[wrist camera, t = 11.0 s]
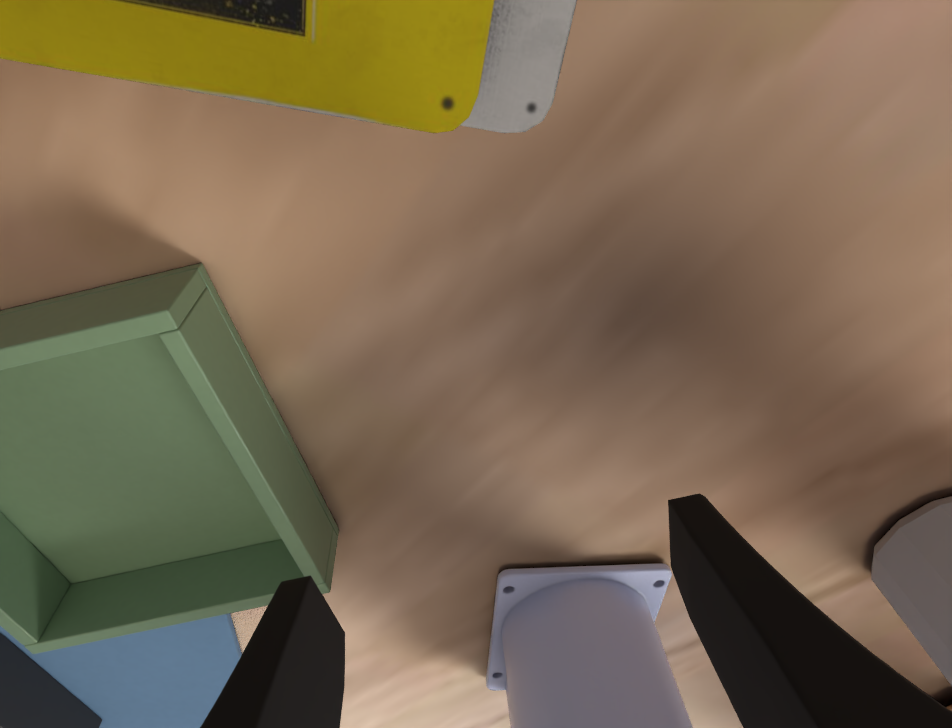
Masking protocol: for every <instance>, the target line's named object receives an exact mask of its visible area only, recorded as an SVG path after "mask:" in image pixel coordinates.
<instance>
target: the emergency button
mask: <svg viewBox="0 0 952 728" xmlns="http://www.w3.org/2000/svg"><path fill="white" fill-rule="evenodd" d="M576 2H577V0H0V59H6V60H12V61H18V62H23V63H29V64H35V65H41V66H47V67H52V68H58V69H64V70H70V71H76V72H81V73H87V74H93V75H99V76H105V77H111V78H116V79H122V80H128V81H134V82H140V83H145V84H151V85H157V86H163V87H169V88H174V89H180V90H186V91H192V92H198V93H203V94H209V95H215V96H221V97H227V98H232V99H238V100H244V101H250V102H256V103H261V104H267V105H273V106H279V107H285V108H291V109H296V110H302V111H308V112H314V113H320V114H325V115H331V116H337V117H343V118H349V119H354V120H360V121H366V122H372V123H378V124H383V125H389V126H395V127H401V128H407V129H412V130H418V131H424V132H430V133H439V132H447V131H453V130H454V129H456V128H457V127H458V126H459V125H460V126H466V127H472V128H477V129H483V130H489V131H494V132H500V133H514V132H526V131H527V130H529V129H530V128H532V127H534V126H535V125H537V124H539V123H540V122H542V121H543V120H544V118H545V116H546V114H547V112H548V111H549V109H550V107H551V105H552V103H553V100H554V96H555V91H556V87H557V83H558V79H559V74H560V70H561V66H562V61H563V57H564V53H565V49H566V44H567V40H568V36H569V32H570V27H571V23H572V19H573V14H574V10H575V6H576Z"/></svg>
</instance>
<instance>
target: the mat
mask: <svg viewBox="0 0 952 728" xmlns="http://www.w3.org/2000/svg"><path fill="white" fill-rule="evenodd" d="M0 633H1V634H3V635H4V636H5V637H6V638H7V639H9V640H10V641H11V642H12V643H13V644H14V645H16V646H17V647H18V648H19V649H20V650H21V651H23V652H24V653H25V654H26V655H27V656H29V657H30V658H31V659H32V660H33V661H34V662H36V663H37V664H38V665H39V666H40V667H41V668H43V669H44V670H45V671H46V672H47V673H49V674H50V675H51V676H52V677H53V678H54V679H56V680H57V681H58V682H59V683H60V684H61V685H63V686H64V687H65V688H66V689H67V690H69V691H70V692H71V693H72V694H73V695H74V696H76V697H77V698H78V699H79V700H80V701H81V702H83V703H84V704H85V705H86V706H87V707H88V708H90V709H91V710H92V711H93V712H94V713H96V714H97V715H98V716H99V717H100V718H101V719H102V722H101V724H100V727H99V728H200V727H201V725H202V724H203V722H204V720H205V719H206V717H207V715H208V714H209V712H210V710H211V709H212V707H213V705H214V704H215V702H216V700H217V699H218V697H219V695H220V693H221V691H222V690H223V688H224V686H225V684H226V683H227V681H228V679H229V677H230V675H231V674H232V672H233V670H234V668H235V667H236V665H237V663H238V661H239V659H240V658H241V656H242V653H241V650H240V646H239V643H238V639H237V636H236V633H235V629H234V626H233V622H232V619H231V615H230V613H229V614H224V615H219V616H215V617H210V618H205V619H200V620H195V621H191V622H186V623H181V624H176V625H172V626H167V627H162V628H157V629H152V630H148V631H143V632H138V633H133V634H128V635H124V636H119V637H114V638H109V639H104V640H100V641H95V642H90V643H85V644H81V645H76V646H71V647H66V648H61V649H57V650H52V651H47V652H42V653H37V654H32V653H31V652H30V651H29V650H28V649H27V648H25V645H22V644H21V643H20V642H19V641H17V640H16V639H15V638H14V637H13V636H12V635H10V634H9V633H8V632H7V631H6V630H5V629H4V628H2V627H1V626H0Z"/></svg>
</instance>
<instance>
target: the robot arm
mask: <svg viewBox="0 0 952 728" xmlns="http://www.w3.org/2000/svg"><path fill="white" fill-rule="evenodd" d="M668 506H669V531H670V557H671V568H672V570H673V573H674V576H675V579H676V582H677V584H678V587H679V590H680V593H681V595H682V598H683V601H684V603H685V606H686V609H687V611H688V614H689V617H690V619H691V621H692V623H693V625H694V627H695V629H696V631H697V634H698V636H699V638H700V640H701V642H702V644H703V646H704V648H705V650H706V652H707V654H708V656H709V658H710V660H711V662H712V664H713V666H714V669H715V671H716V673H717V675H718V677H719V679H720V681H721V683H722V685H723V687H724V689H725V691H726V693H727V695H728V697H729V699H730V701H731V703H732V705H733V707H734V709H735V711H736V713H737V716H738V718H739V720H740V722H741V724H742V726H743V728H952V711H950V710H949V709H947V708H946V707H945V706H943V705H942V704H940V703H939V702H937V701H936V700H935V699H933V698H932V697H931V696H929V695H928V694H926V693H925V692H924V691H922V690H921V689H920V688H918V687H917V686H915V685H914V684H913V683H911V682H910V681H909V680H907V679H906V678H904V677H903V676H902V675H900V674H899V673H898V672H896V671H895V670H894V669H893V668H891V667H890V666H889V665H887V664H886V663H885V662H883V661H882V660H881V659H879V658H878V657H877V656H875V655H874V654H873V653H872V652H870V651H869V650H868V649H867V648H865V647H864V646H863V645H862V644H860V643H859V642H858V641H857V640H855V639H854V638H853V637H852V636H850V635H849V634H848V633H847V632H846V631H844V630H843V629H842V628H841V627H840V626H838V625H837V624H836V623H835V622H834V621H833V620H831V619H830V618H829V617H828V616H827V615H825V614H824V613H823V612H822V611H821V610H820V609H818V608H817V607H816V606H815V605H814V604H813V603H812V602H810V601H809V600H808V599H807V598H806V597H805V596H804V595H803V594H801V593H800V592H799V591H798V590H797V589H796V588H795V587H794V586H793V585H792V584H791V583H789V582H788V581H787V580H786V579H785V578H784V577H783V576H782V575H781V574H780V573H779V572H778V571H777V570H776V569H774V568H773V567H772V566H771V565H770V564H769V563H768V562H767V561H766V560H765V559H764V558H763V557H762V556H761V555H760V554H759V553H758V552H757V551H756V550H755V549H754V548H753V547H752V546H751V545H750V544H749V543H748V542H747V541H746V540H745V539H744V538H743V537H742V536H741V535H740V534H739V533H738V532H737V531H736V530H735V529H734V528H733V527H732V526H731V525H730V524H729V523H728V521H727V520H726V519H725V518H724V517H723V516H722V515H721V514H720V513H719V512H718V511H717V510H716V508H715V507H714V506H713V505H712V504H711V503H710V502H709V501H708V499H707V498H706V497H705V496H703V495H701V494H695V495H690V496H686V497H681V498H676V499H671V500H668ZM671 576H672V572H671V570H670V568H669V566H668V565H666V564H663V563H655V564H628V565H601V566H575V567H548V568H521V569H506V570H503V571H502V572H500V573H499V575H498V578H497V587H496V596H495V604H494V613H493V622H492V631H491V640H490V648H489V657H488V666H487V675H486V686H487V688H488V689H490V690H506V693H507V701H508V709H509V717H510V725H511V728H693V727H692V724H691V721H690V719H689V716H688V713H687V711H686V708H685V705H684V702H683V700H682V697H681V694H680V692H679V689H678V686H677V683H676V681H675V678H674V675H673V673H672V670H671V667H670V664H669V662H668V659H667V656H666V653H665V651H664V648H663V645H662V643H661V640H660V637H659V634H658V632H657V629H656V626H655V624H654V622H655V620H656V617H657V614H658V611H659V609H660V606H661V603H662V600H663V598H664V595H665V592H666V589H667V587H668V584H669V581H670V578H671ZM344 675H345V632H344V631H343V629H342V627H341V626H340V624H339V622H338V620H337V619H336V617H335V615H334V614H333V612H332V610H331V609H330V607H329V605H328V604H327V602H326V600H325V599H324V597H323V595H322V594H321V592H320V590H319V588H318V587H317V585H316V583H315V582H314V580H313V578H312V577H311V575H310V576H306V577H301V578H296V579H291V580H287V581H282V582H281V583H280V585H279V586H278V588H277V590H276V592H275V593H274V595H273V597H272V599H271V601H270V603H269V605H268V607H267V609H266V611H265V612H264V614H263V616H262V618H261V620H260V622H259V624H258V626H257V628H256V630H255V631H254V633H253V635H252V637H251V639H250V641H249V643H248V645H247V646H246V648H245V650H244V652H243V654H242V656H241V658H240V659H239V661H238V663H237V665H236V667H235V668H234V670H233V672H232V674H231V675H230V677H229V679H228V681H227V683H226V684H225V686H224V688H223V690H222V691H221V693H220V695H219V697H218V699H217V700H216V702H215V704H214V705H213V707H212V709H211V710H210V712H209V714H208V715H207V717H206V719H205V720H204V722H203V724H202V725H201V727H200V728H339V727H340V719H341V710H342V702H343V693H344Z"/></svg>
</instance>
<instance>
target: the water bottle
mask: <svg viewBox="0 0 952 728" xmlns="http://www.w3.org/2000/svg"><path fill="white" fill-rule="evenodd" d="M872 580H873V582H874V583H875V584H876V586H877V587H878V588H879V590H880V591H881V592H882V594H883V595H884V596H885V598H886V599H887V600H888V602H889V603H890V604H891V606H892V607H893V608H894V610H895V611H896V612H897V614H898V615H899V616H900V618H901V619H902V620H903V622H904V623H905V624H906V626H907V627H908V628H909V630H910V631H911V632H912V634H913V635H914V636H915V638H916V639H917V640H918V642H919V643H920V644H921V646H922V647H923V648H924V650H925V651H926V652H927V654H928V655H929V656H930V658H931V659H932V660H933V662H934V663H935V664H936V666H937V667H938V668H939V670H940V671H941V672H942V674H943V675H944V676H945V678H946V679H947V680H948V682H949V683H950V684H951V686H952V496H951V497H947V498H943V499H939V500H935V501H932V502H930V503H928V504H926V505H924V506H923V507H921V508H919V509H917V510H916V511H914V512H912V513H910V514H909V515H907V516H905V517H904V518H902V519H900V520H899V521H898V522H897V523H896V524H895V525H894V526H893V527H892V528H891V529H890V530H889V531H888V532H887V533H886V534H885V535H884V537H883V538H882V539H881V540H880V541H879V542H878V543H877V544H876V545H875V546H874V553H873V561H872Z"/></svg>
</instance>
